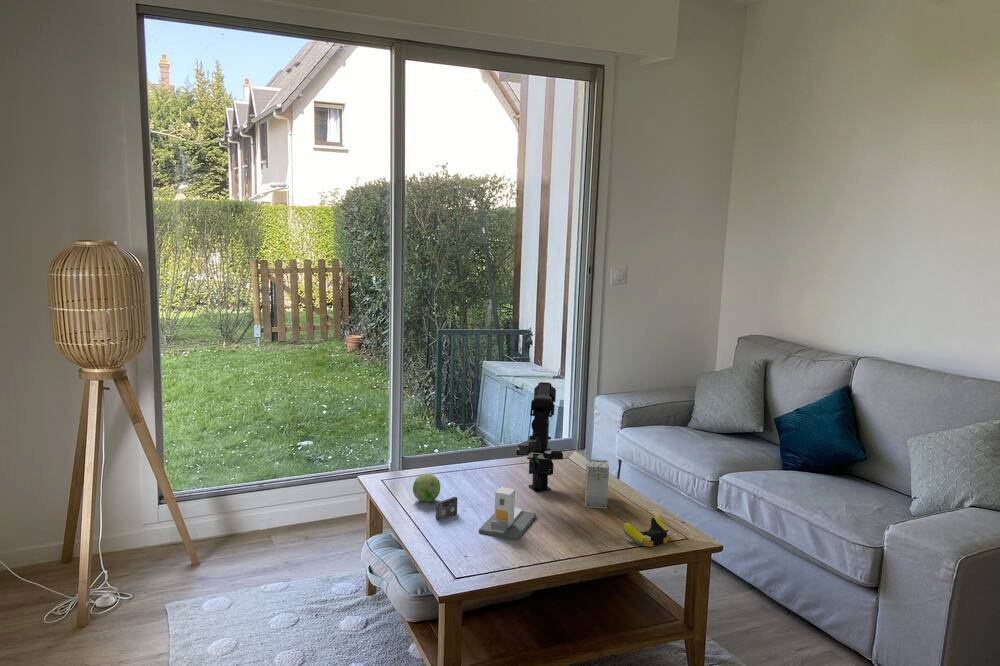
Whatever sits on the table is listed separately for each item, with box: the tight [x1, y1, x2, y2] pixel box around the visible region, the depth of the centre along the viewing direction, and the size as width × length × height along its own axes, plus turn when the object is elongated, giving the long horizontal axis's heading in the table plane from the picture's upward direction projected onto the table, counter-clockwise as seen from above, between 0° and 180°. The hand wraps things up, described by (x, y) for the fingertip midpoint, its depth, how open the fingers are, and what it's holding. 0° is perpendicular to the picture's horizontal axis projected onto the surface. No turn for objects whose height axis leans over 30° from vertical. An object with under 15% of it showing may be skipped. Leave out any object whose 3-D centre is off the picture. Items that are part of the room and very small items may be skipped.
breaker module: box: [494, 486, 516, 529], centre depth 233 cm, size 6×5×12 cm
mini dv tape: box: [435, 496, 458, 521], centre depth 243 cm, size 8×2×6 cm, turn 135°
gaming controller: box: [622, 516, 671, 548], centre depth 230 cm, size 15×6×10 cm
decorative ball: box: [412, 473, 441, 503], centre depth 255 cm, size 10×10×10 cm
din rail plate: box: [478, 507, 537, 541], centre depth 238 cm, size 20×13×4 cm, turn 160°
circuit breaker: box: [584, 458, 610, 509], centre depth 261 cm, size 8×14×15 cm, turn 174°
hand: (538, 478), depth 251 cm, fingers closed
